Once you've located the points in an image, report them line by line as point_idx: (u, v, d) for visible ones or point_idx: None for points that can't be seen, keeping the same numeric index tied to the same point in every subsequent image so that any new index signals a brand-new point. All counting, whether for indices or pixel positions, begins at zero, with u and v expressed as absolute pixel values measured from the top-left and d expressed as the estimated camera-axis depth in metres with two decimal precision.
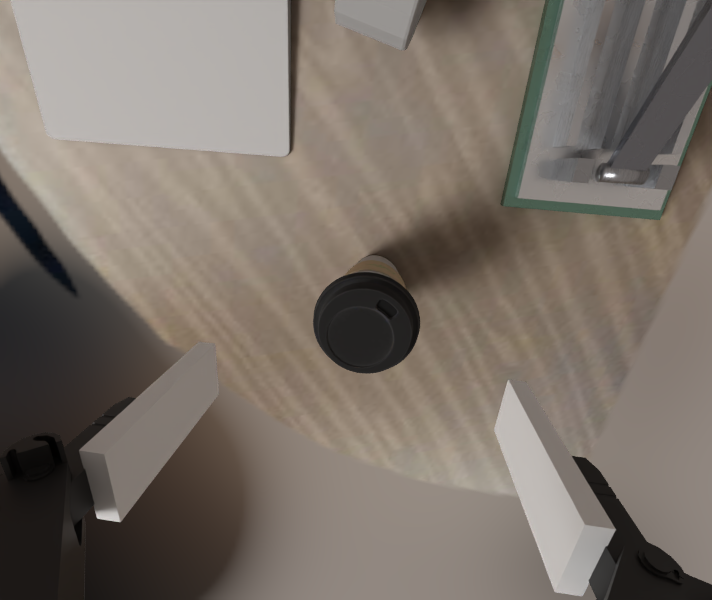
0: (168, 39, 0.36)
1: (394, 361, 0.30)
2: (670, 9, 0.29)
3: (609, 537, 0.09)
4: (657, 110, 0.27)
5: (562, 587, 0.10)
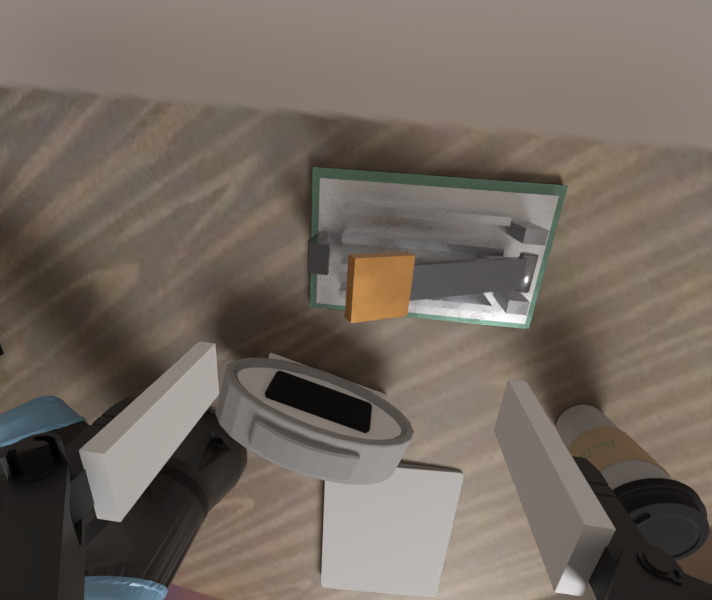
0: (385, 526, 0.55)
1: (700, 517, 0.31)
2: None
3: (609, 537, 0.09)
4: (482, 285, 0.32)
5: (562, 587, 0.10)
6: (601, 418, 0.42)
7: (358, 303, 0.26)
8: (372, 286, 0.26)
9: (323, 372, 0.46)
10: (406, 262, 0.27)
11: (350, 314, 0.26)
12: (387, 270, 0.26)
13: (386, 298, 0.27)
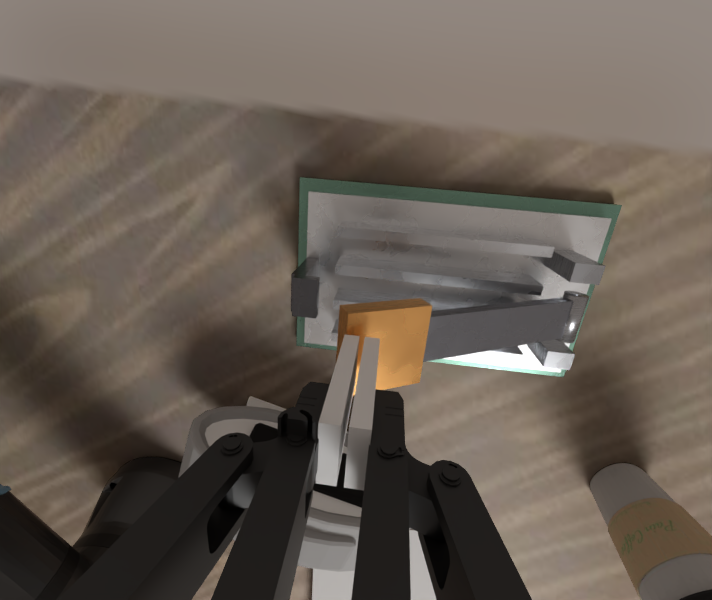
0: None
1: None
2: None
3: (370, 437, 0.12)
4: (516, 336, 0.24)
5: (348, 482, 0.12)
6: (649, 485, 0.35)
7: None
8: None
9: None
10: (420, 315, 0.19)
11: None
12: (394, 327, 0.19)
13: (391, 363, 0.20)
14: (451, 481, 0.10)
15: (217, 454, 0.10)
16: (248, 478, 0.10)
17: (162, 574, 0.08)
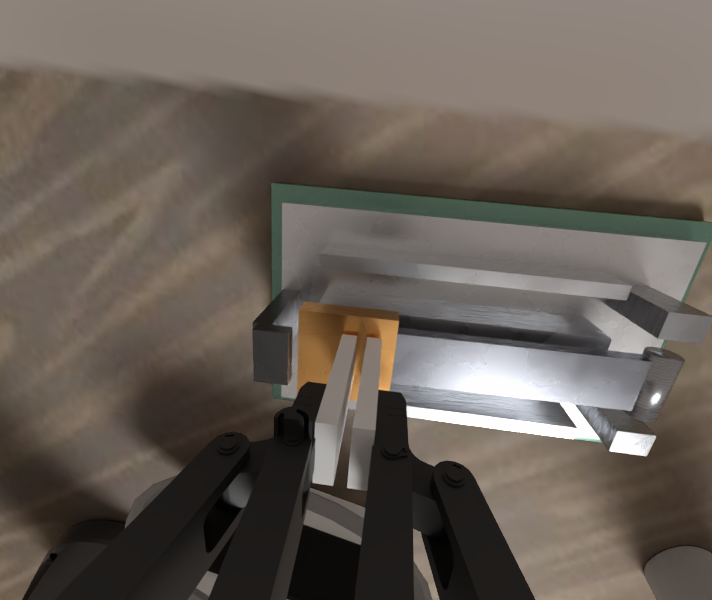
0: None
1: None
2: None
3: (373, 437, 0.12)
4: (541, 388, 0.19)
5: (351, 483, 0.12)
6: None
7: (307, 371, 0.19)
8: (328, 353, 0.18)
9: None
10: (383, 328, 0.18)
11: (297, 382, 0.19)
12: None
13: None
14: (455, 482, 0.10)
15: (214, 454, 0.10)
16: (244, 477, 0.10)
17: (158, 574, 0.08)
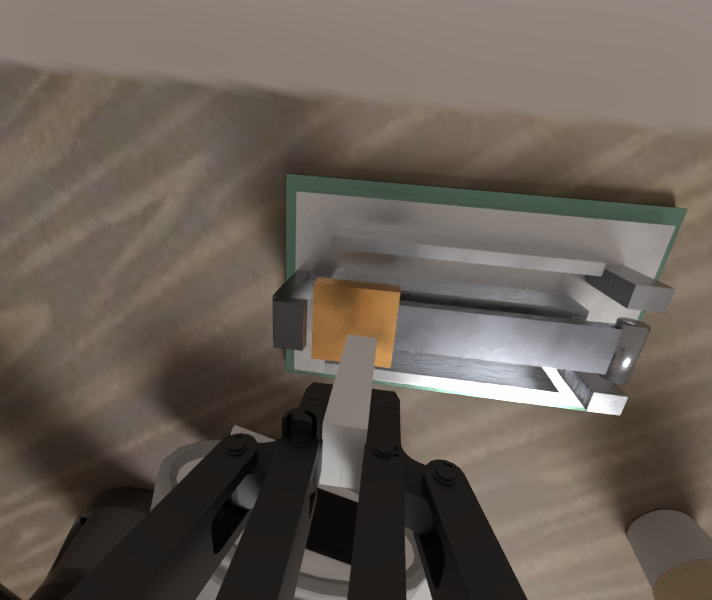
0: None
1: None
2: None
3: (365, 436, 0.12)
4: (526, 354, 0.21)
5: (344, 482, 0.12)
6: (703, 541, 0.29)
7: (320, 337, 0.22)
8: (338, 321, 0.21)
9: None
10: (386, 299, 0.20)
11: None
12: (359, 305, 0.21)
13: None
14: (446, 480, 0.10)
15: (222, 454, 0.10)
16: (252, 479, 0.10)
17: (166, 575, 0.08)
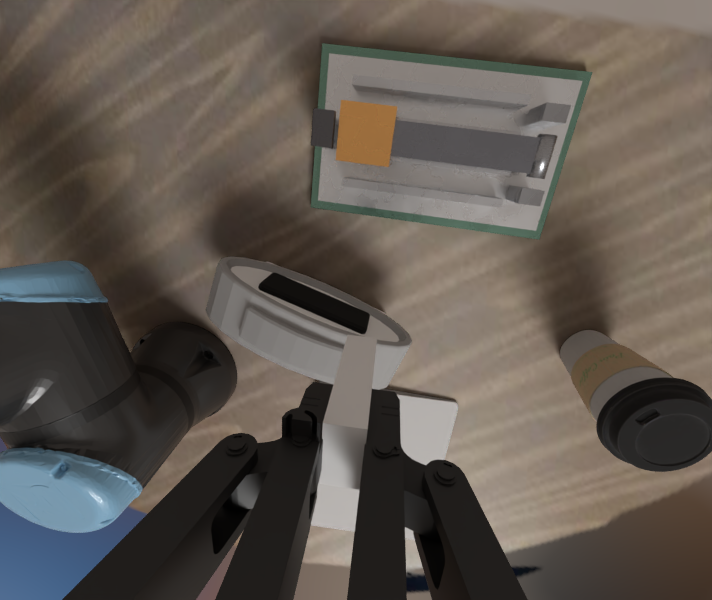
0: None
1: None
2: None
3: (365, 436, 0.12)
4: (478, 158, 0.32)
5: (344, 482, 0.12)
6: (608, 339, 0.40)
7: (342, 143, 0.32)
8: (355, 129, 0.32)
9: (321, 282, 0.44)
10: (388, 112, 0.31)
11: (336, 152, 0.33)
12: (370, 116, 0.31)
13: (368, 144, 0.32)
14: (446, 480, 0.10)
15: (222, 455, 0.10)
16: (252, 479, 0.10)
17: (166, 575, 0.08)
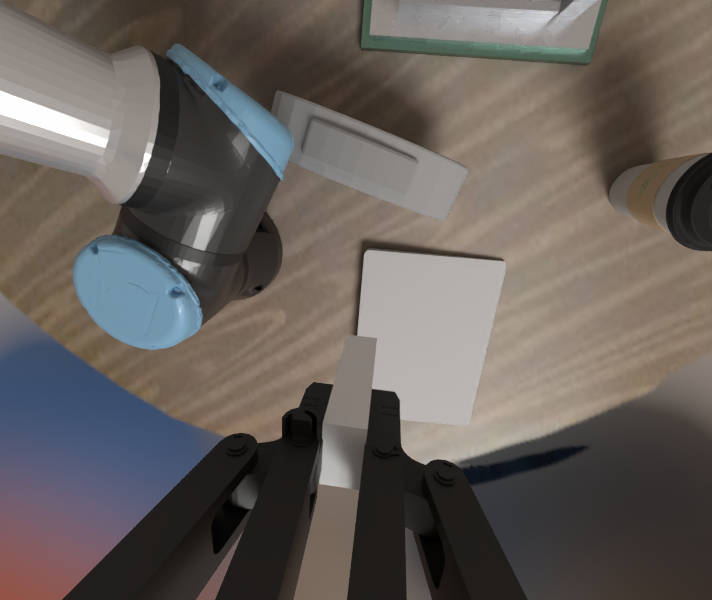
0: (421, 334, 0.54)
1: None
2: None
3: (365, 436, 0.12)
4: None
5: (344, 482, 0.12)
6: None
7: None
8: None
9: None
10: None
11: None
12: None
13: None
14: (446, 480, 0.10)
15: (222, 454, 0.10)
16: (252, 479, 0.10)
17: (166, 574, 0.08)
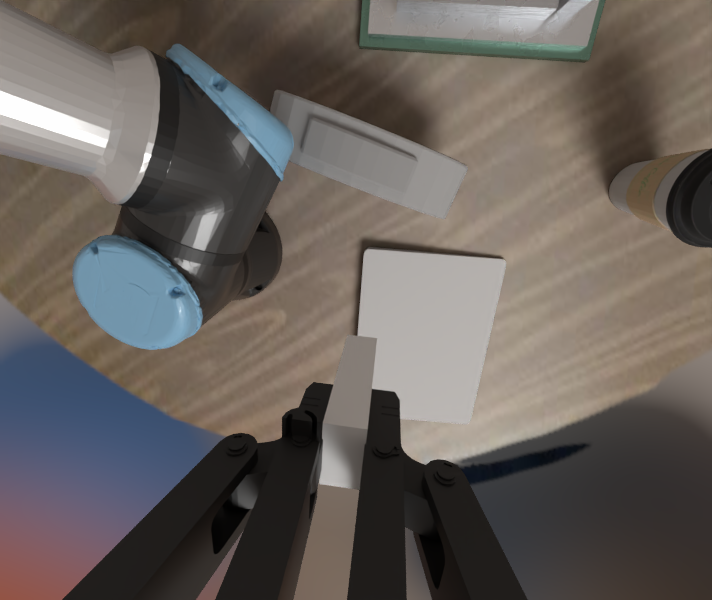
0: (422, 332, 0.54)
1: None
2: None
3: (365, 436, 0.12)
4: None
5: (344, 482, 0.12)
6: None
7: None
8: None
9: None
10: None
11: None
12: None
13: None
14: (446, 480, 0.10)
15: (222, 455, 0.10)
16: (252, 479, 0.10)
17: (166, 575, 0.08)
